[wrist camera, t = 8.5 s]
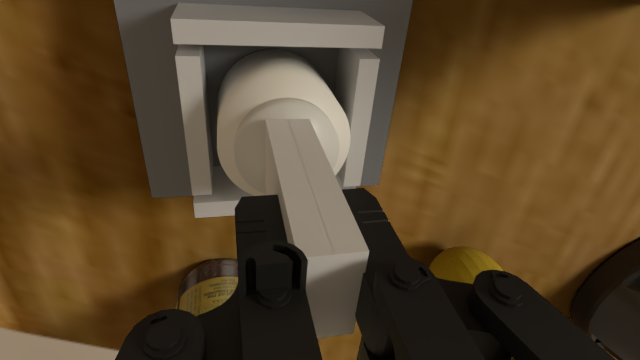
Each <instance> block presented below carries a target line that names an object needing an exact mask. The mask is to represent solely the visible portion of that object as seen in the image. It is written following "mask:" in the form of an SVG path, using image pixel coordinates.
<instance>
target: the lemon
mask: <svg viewBox="0 0 640 360" xmlns="http://www.w3.org/2000/svg"><path fill="white" fill-rule="evenodd" d="M429 269H430V270H431V272H432V273H433V274H434V275H435V277H437V278H440V279H445V280H450V281H457V282H463V283H470V284H473V282H474V279H475V277H476V275H478V274H479V273H480V272H482V271H486V270H492V269H493V270H500V271H503V270H502V268H501V267H500V266H499V265H498V264H497V263H496V262H495V261H494V260H493V259H492V258H490V257H489V256H488V255H486V254H485V253H483V252H481V251H479V250H476V249H474V248H469V247H453V248H450V249H447V250H444V251H442V252H441V253H440V254H439V255H437V256H436V257H435V258H434V260H433V261H432V263H431V264H430V266H429Z"/></svg>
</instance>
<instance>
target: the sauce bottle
mask: <svg viewBox="0 0 640 360" xmlns="http://www.w3.org/2000/svg"><path fill="white" fill-rule="evenodd" d="M237 284H238V262H237V259H218V260H209V261H206V262H204V263H202V264H200V265H199V266H197V267H196V268H194V269H193V270H191V271H190V272H189V273H188V275H187V276H186V277H185V278H184V279H183V280H182V282H181V285H180V287H179V297H178V302H177V304H176V307H175V309H180V310H184V311H188V312H190V313H192V314H193V315H194V316H198V315H200V314H203V313H205V312H207V311H210V310H212V309H214V308H216V307H218V306H220V305H221V304H223V303H224V302H225V301H226V300H228V299H229V298H230V296H231V295H232V294H233V293H234V291H235V289H236V287H237Z"/></svg>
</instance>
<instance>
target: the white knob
mask: <svg viewBox="0 0 640 360" xmlns="http://www.w3.org/2000/svg"><path fill="white" fill-rule="evenodd" d="M267 119H310V121H311V124H312V126H313V128H314V130H315V132H316V135H317V137H318V139H319V141H320V144H321V146H322V148H323V150H324V152H325V155H326V157H327V159H328V161H329V163H330V166H331V168H332V170H333V172H334V174H335V175H336V174H337V173H338V172H339V170H340V169H341V167H342V166H343V164H344V162H345V160H346V158H347V155H348V152H349V147H350V138H351V135H350V127H349V122H348V119H347V117H346V114H345V112H344V111H343V109H342V107H341V106H340V104H339V103H338V101H337V100H336V98H335V97H334V95H333V93H332V92H331V90H330V89H329V87H328V86H327V84H326V83H325V81H324V80H323V78H322V77H321V75H320V73H319V72H318V71H317V69H316V68H315V67H314V66H313V65H312V64H311V63H310V62H309V61H307V60H306V59H305V58H303V57H301V56H300V55H298V54H295V53H293V52H290V51H286V50H279V49H267V50H261V51H257V52H254V53H251V54H249V55H247V56H245V57H243V58H242V59H240V60H239V61H238V62H236V63H235V64H234V65H233V66H232V67H231V68H230V70H229V71H228V72H227V73H226V75H225V77H224V78H223V80H222V83H221V85H220V88H219V92H218V104H217V152H218V157H219V160H220V164H221V166H222V168H223V170H224V172H225V173H226V174H227V176H228V177H229V178H230V180H231V181H232V182H233V183H234V184H235V185H237V186H238V187H239V188H241V189H242V190H244V191H245V192H247V193H249V194H251V195H253V196H262V195H267V192H266V167H265V120H267Z"/></svg>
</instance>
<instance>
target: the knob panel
mask: <svg viewBox="0 0 640 360" xmlns="http://www.w3.org/2000/svg"><path fill="white" fill-rule="evenodd" d="M412 3H413V0H114V5H115V10H116V15H117V20H118V25H119V31H120V36H121V41H122V46H123V51H124V56H125V61H126V67H127V72H128V77H129V82H130V87H131V92H132V97H133V103H134V108H135V113H136V118H137V123H138V128H139V133H140V139H141V144H142V149H143V154H144V159H145V164H146V169H147V175H148V180H149V185H150V190H151V195H152V198H164V197H181V196H194V202H193V204H194V212H195V218H202V217H216V216H231V215H235V207H236V205H237V204H238V202H239V200H240V199H241V197H245V196H253V195H251V194H249V193H247V192H245V191H244V190H242V189H241V188H239V187H238V186H237V185H235V184H234V183H233V182H232V181H231V180H230V178H229V177H228V176H227V174H226V173H225V172H224V170H223V168H222V166H221V164H220V160H219V157H218V152H217V104H218V92H219V88H220V85H221V83H222V80H223V78H224V77H225V75H226V73H227V72H228V71H229V70H230V68H231V67H232V66H233V65H234V64H235V63H236V62H238V61H239V60H240V59H242V58H243V57H245V56H247V55H249V54H251V53H254V52H257V51H261V50H267V49H279V50H286V51H290V52H293V53H295V54H298V55H300V56H301V57H303V58H305V59H306V60H307V61H309V62H310V63H311V64H312V65H313V66H314V67H315V68H316V69H317V71H318V72H319V73H320V75H321V77H322V78H323V80H324V81H325V83H326V84H327V86H328V87H329V89H330V90H331V92H332V93H333V95H334V97H335V98H336V100H337V101H338V103H339V104H340V106H341V107H342V109H343V111H344V112H345V114H346V117H347V119H348V122H349V127H350V135H351V138H350V147H349V152H348V155H347V158H346V160H345V162H344V164H343V166H342V167H341V169H340V170H339V172H338V173H337V174H336V175H335V177H336V179H337V181H338V183H339V185H340V188H341V189H355V188H356V186H371V185H379V180H380V175H381V169H382V164H383V159H384V153H385V148H386V142H387V137H388V132H389V126H390V121H391V116H392V110H393V105H394V100H395V94H396V89H397V84H398V78H399V73H400V68H401V62H402V57H403V51H404V46H405V41H406V35H407V30H408V25H409V19H410V14H411V9H412Z"/></svg>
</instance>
